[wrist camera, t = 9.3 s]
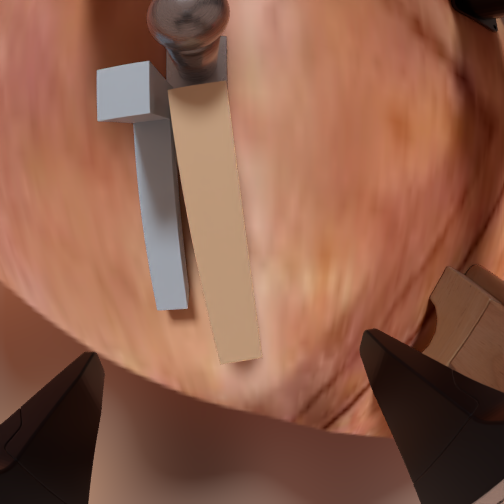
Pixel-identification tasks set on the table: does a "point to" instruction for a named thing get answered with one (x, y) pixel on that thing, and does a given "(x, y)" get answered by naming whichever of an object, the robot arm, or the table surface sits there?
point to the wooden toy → (470, 325)
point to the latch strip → (151, 170)
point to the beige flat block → (216, 216)
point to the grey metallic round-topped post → (191, 39)
